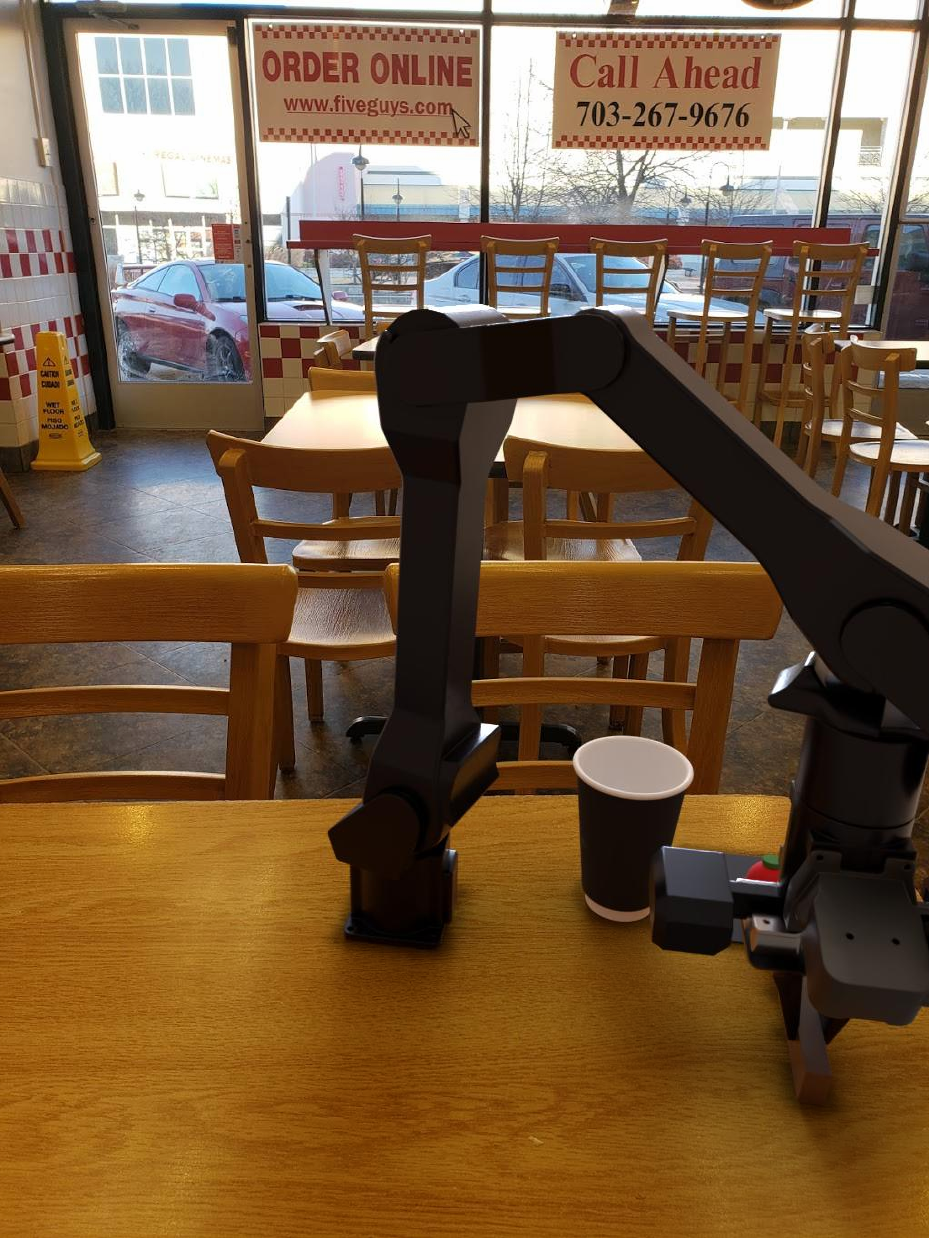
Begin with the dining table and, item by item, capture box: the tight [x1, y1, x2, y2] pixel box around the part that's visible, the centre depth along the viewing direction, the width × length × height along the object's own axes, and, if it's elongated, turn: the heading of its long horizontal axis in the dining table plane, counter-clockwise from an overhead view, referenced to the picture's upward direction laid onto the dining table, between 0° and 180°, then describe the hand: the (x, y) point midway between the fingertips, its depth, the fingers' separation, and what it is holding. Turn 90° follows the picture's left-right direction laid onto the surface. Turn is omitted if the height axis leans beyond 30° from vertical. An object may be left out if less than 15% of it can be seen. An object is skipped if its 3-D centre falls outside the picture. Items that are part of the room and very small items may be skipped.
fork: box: [783, 940, 833, 1106], centre depth 57 cm, size 15×3×2 cm, turn 172°
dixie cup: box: [572, 735, 695, 923], centre depth 64 cm, size 8×8×11 cm
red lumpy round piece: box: [744, 854, 780, 883], centre depth 65 cm, size 4×3×4 cm
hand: (805, 1036), depth 53 cm, fingers closed on fork, 1 cm apart
